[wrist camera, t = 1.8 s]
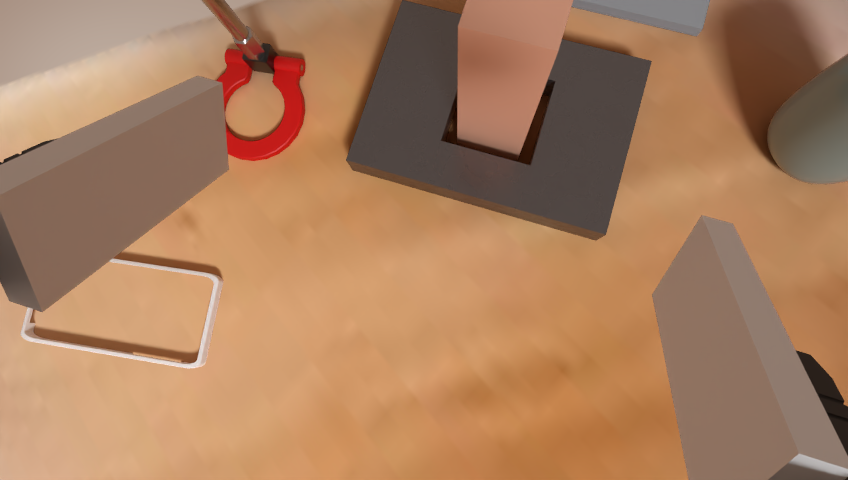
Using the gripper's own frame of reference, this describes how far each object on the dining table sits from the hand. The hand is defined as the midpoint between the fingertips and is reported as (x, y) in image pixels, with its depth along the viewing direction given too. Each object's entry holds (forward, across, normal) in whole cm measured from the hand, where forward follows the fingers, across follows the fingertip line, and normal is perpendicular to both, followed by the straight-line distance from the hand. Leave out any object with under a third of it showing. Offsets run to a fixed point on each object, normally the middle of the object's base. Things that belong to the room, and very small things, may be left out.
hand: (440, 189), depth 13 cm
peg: (+27, 0, -8) cm, 28 cm away
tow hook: (+24, -19, -12) cm, 33 cm away
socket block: (+27, 0, -8) cm, 28 cm away
